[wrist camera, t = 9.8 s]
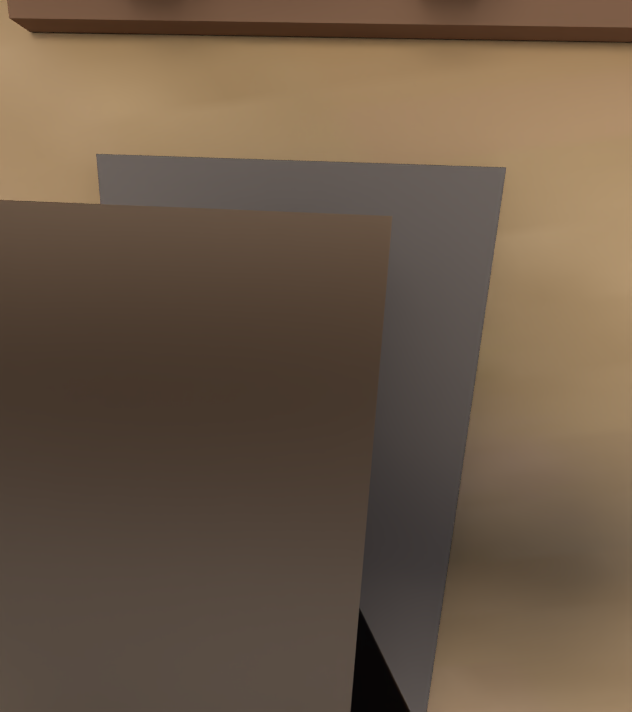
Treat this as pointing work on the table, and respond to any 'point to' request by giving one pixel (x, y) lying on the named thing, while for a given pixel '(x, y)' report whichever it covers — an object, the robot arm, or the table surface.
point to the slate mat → (382, 352)
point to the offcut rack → (337, 18)
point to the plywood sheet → (184, 455)
